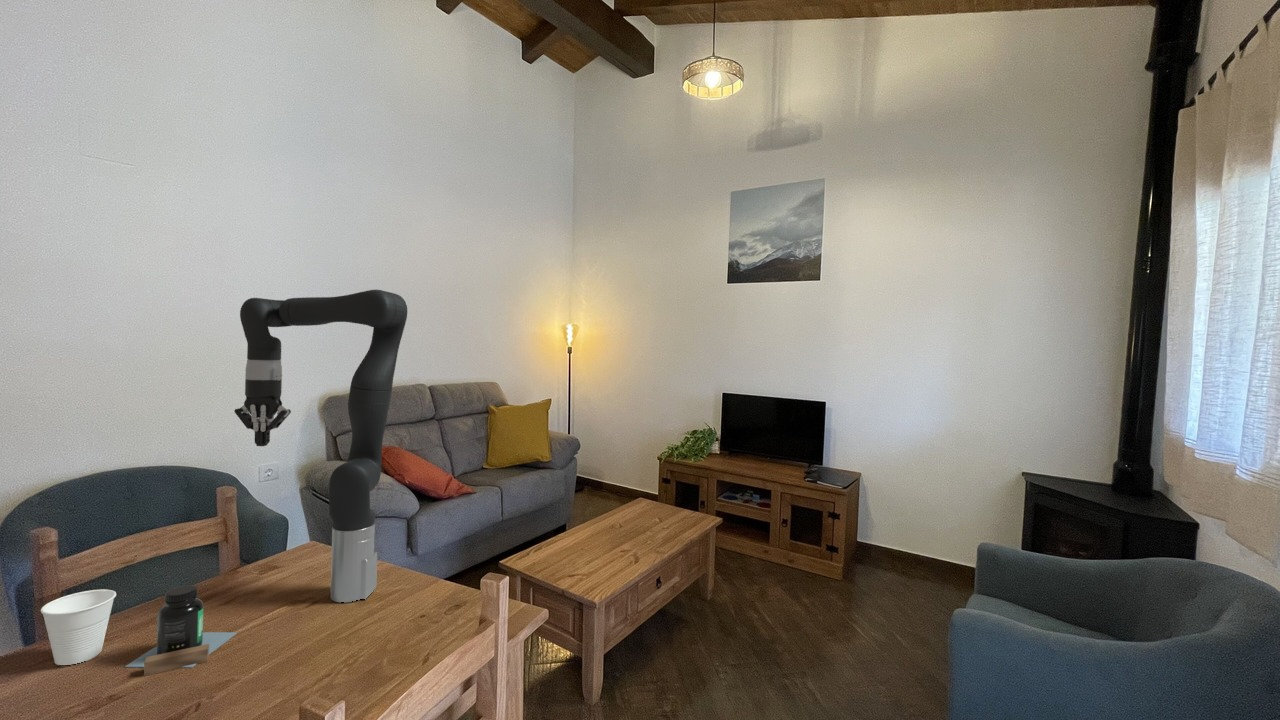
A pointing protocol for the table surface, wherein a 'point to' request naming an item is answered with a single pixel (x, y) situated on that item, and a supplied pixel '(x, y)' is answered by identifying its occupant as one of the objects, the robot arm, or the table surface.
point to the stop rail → (176, 659)
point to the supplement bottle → (180, 620)
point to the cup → (78, 625)
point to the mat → (208, 638)
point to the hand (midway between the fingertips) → (262, 445)
